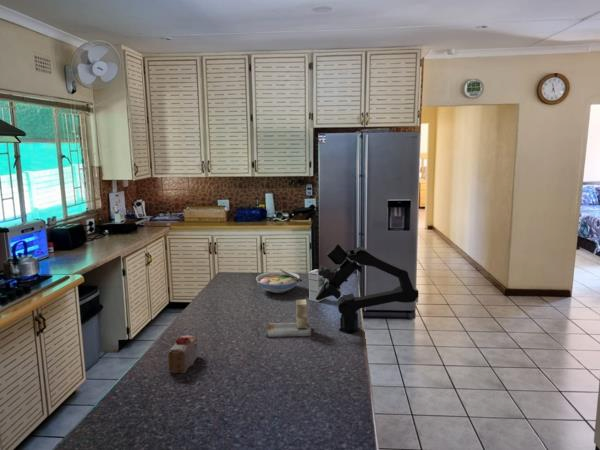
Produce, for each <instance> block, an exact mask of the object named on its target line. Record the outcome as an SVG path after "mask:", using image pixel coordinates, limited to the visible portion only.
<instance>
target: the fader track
mask: <svg viewBox="0 0 600 450" xmlns="http://www.w3.org/2000/svg"><path fill="white" fill-rule="evenodd" d="M265 325H266V327H265V337H266V338H275V337H276V338H278V337H280V338H281V337H303V336H304V337H305V336H306V337H308V336H311V337H312V326H311V322H310V321H307V329H297V321H295V322H274V323H273V322H272V323H269V322H268V323H266V324H265Z"/></svg>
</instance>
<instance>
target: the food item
mask: <svg viewBox="0 0 600 450" xmlns="http://www.w3.org/2000/svg"><path fill="white" fill-rule="evenodd" d="M200 344H201V342H200V340H199V339H198V338H197V337H196V336H194V335H188V334H186V335H181V337H178V338H176V340H175V342H174V345H173V346H172V347H171V348H170V349H169V350H167V356H168V357H167V359H168V360H167V361H168V363H167V364H168V372H169V373H173V374H177V373H178V374H185V373H186V372H187V371H188V369H189V368H190V367H191V366H194V363H195V361H196V360H197V357H198V355H199V354H200V352H201V345H200Z"/></svg>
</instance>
